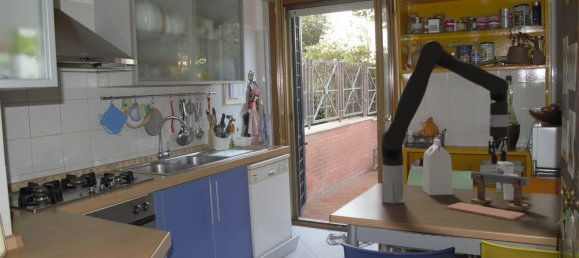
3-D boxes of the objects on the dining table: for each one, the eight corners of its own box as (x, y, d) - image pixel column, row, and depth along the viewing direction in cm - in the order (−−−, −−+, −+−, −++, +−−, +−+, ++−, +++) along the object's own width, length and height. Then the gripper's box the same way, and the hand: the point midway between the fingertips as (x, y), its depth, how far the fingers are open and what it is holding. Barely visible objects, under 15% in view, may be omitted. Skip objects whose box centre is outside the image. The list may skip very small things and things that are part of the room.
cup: (502, 200, 214) (502, 176, 213) (501, 197, 220) (502, 173, 219) (518, 201, 211) (518, 176, 210) (517, 197, 217) (517, 174, 216)
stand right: (521, 210, 196) (521, 181, 195) (506, 208, 200) (506, 179, 199) (528, 207, 200) (528, 178, 199) (514, 205, 205) (514, 177, 204)
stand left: (483, 204, 208) (483, 176, 207) (470, 202, 212) (470, 175, 211) (491, 201, 212) (491, 174, 211) (478, 199, 217) (478, 172, 216)
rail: (526, 186, 195) (526, 178, 195) (471, 179, 213) (470, 172, 213) (529, 185, 197) (529, 177, 197) (474, 178, 215) (474, 171, 215)
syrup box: (495, 191, 232) (495, 161, 231) (507, 190, 232) (507, 161, 231) (501, 193, 226) (502, 163, 225) (513, 193, 227) (514, 162, 225)
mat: (513, 220, 182) (513, 218, 182) (446, 208, 203) (446, 206, 203) (524, 215, 188) (524, 213, 188) (459, 204, 209) (459, 202, 209)
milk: (453, 194, 228) (453, 140, 226) (429, 195, 228) (428, 141, 226) (445, 189, 240) (445, 137, 238) (422, 189, 240) (421, 138, 238)
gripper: (498, 123, 211) (498, 159, 212) (482, 126, 202) (482, 164, 203) (515, 124, 205) (515, 161, 207) (499, 126, 196) (500, 165, 197)
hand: (499, 162), depth 205 cm, fingers open, 8 cm apart
